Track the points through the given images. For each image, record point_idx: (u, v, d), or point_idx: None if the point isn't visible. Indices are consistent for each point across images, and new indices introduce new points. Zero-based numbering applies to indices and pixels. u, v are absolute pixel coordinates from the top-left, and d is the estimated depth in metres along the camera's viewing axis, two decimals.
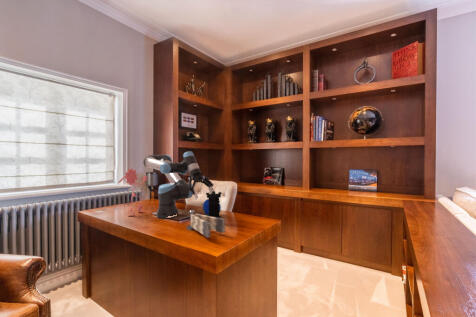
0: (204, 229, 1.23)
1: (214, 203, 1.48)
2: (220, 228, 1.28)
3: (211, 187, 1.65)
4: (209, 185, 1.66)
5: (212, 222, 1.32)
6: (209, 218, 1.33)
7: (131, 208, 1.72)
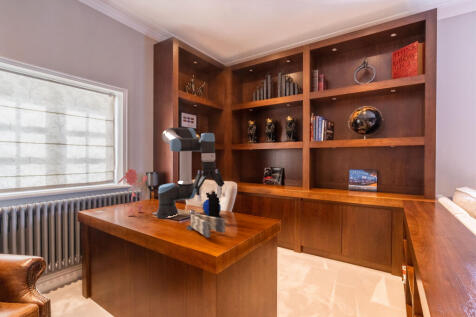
0: (204, 229, 1.23)
1: (214, 203, 1.48)
2: (220, 228, 1.28)
3: (220, 187, 1.33)
4: (219, 184, 1.33)
5: (212, 222, 1.32)
6: (209, 218, 1.33)
7: (131, 208, 1.72)
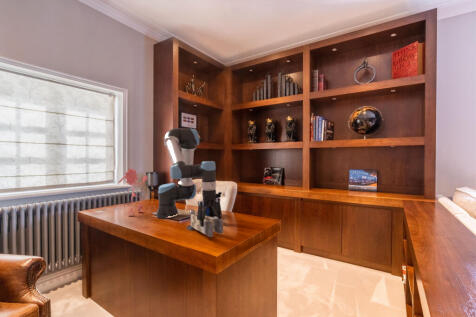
0: (206, 228, 1.24)
1: None
2: (218, 229, 1.27)
3: (217, 218, 1.30)
4: (216, 214, 1.30)
5: None
6: (208, 218, 1.32)
7: (131, 208, 1.72)
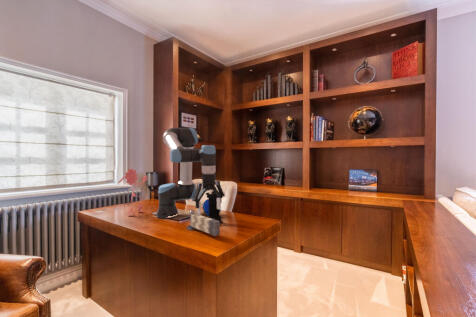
0: (210, 227, 1.25)
1: (214, 203, 1.48)
2: None
3: (220, 199, 1.32)
4: (219, 196, 1.32)
5: None
6: None
7: (131, 208, 1.72)
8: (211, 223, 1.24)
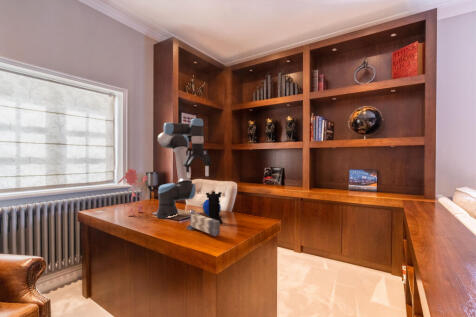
0: (210, 227, 1.25)
1: (214, 203, 1.48)
2: None
3: (208, 167, 1.51)
4: (207, 164, 1.51)
5: None
6: None
7: (131, 208, 1.72)
8: (211, 223, 1.24)
